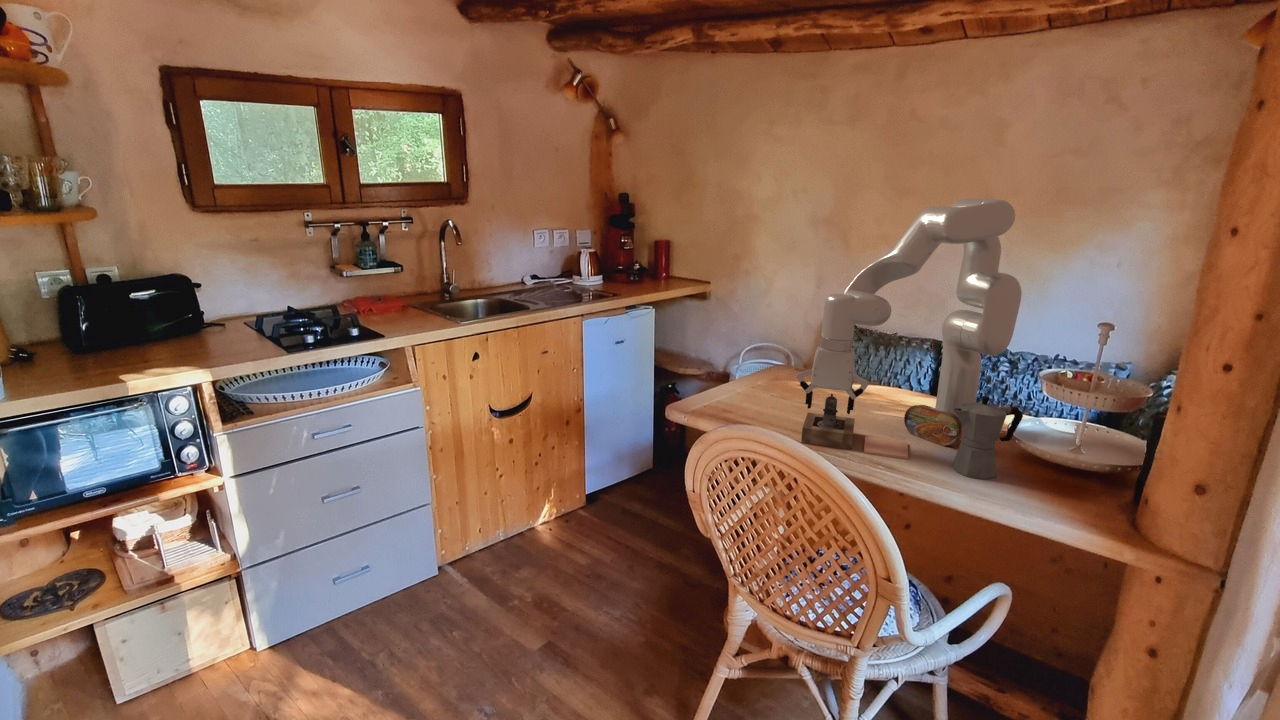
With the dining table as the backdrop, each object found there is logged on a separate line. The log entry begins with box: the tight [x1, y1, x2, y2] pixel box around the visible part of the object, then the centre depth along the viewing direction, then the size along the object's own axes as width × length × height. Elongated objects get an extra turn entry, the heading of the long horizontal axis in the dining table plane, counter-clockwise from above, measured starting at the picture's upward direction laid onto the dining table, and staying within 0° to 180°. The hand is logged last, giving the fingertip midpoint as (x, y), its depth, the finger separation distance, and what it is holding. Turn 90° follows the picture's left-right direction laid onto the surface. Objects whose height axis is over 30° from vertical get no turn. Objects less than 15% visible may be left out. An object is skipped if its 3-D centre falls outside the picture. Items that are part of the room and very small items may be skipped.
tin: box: [903, 404, 963, 446], centre depth 165 cm, size 15×3×8 cm, turn 33°
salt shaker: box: [817, 393, 841, 429], centre depth 164 cm, size 6×6×12 cm
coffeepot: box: [952, 395, 1024, 480], centre depth 145 cm, size 15×9×18 cm, turn 90°
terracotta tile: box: [863, 436, 909, 460], centre depth 159 cm, size 10×10×1 cm
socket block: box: [800, 412, 856, 451], centre depth 165 cm, size 12×12×4 cm
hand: (828, 409), depth 164 cm, fingers open, 9 cm apart
